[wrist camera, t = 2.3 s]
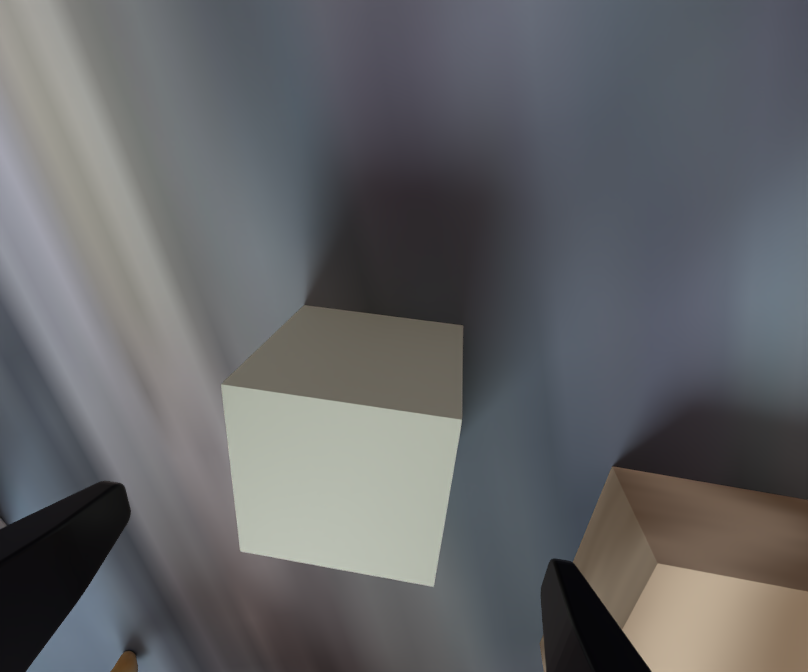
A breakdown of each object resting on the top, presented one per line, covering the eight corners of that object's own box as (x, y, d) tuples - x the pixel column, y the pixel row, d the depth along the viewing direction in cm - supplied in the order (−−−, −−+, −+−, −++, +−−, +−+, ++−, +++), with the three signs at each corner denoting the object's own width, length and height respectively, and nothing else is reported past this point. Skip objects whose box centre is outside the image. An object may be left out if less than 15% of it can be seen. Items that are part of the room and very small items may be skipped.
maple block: (923, 513, 14) (1091, 645, 10) (776, 683, 18) (856, 821, 14) (608, 459, 14) (657, 563, 11) (538, 634, 18) (556, 753, 15)
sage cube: (463, 324, 13) (462, 419, 8) (443, 453, 15) (433, 587, 10) (304, 304, 13) (221, 384, 9) (306, 432, 15) (240, 551, 11)
